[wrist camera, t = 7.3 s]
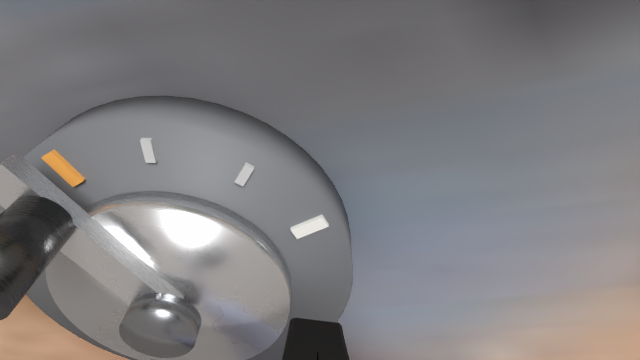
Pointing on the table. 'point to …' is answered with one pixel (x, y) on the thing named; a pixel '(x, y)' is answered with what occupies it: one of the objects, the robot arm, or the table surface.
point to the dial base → (208, 188)
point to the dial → (144, 269)
